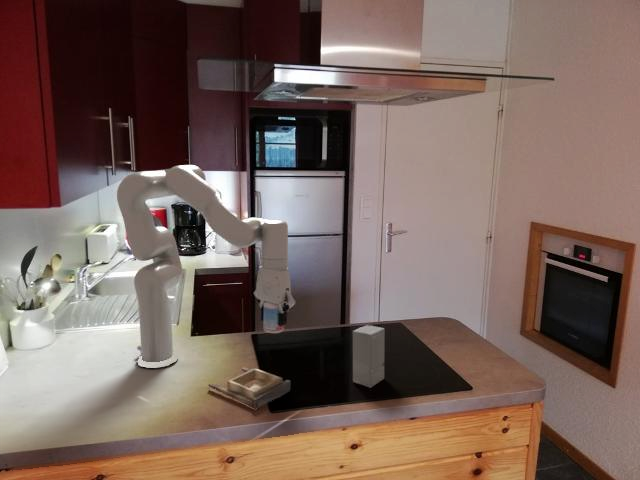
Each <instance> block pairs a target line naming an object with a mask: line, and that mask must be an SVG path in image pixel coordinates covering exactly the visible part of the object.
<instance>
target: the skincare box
mask: <svg viewBox="0 0 640 480" xmlns="http://www.w3.org/2000/svg"><path fill="white" fill-rule="evenodd" d="M385 332H386V331H385V327H378V326H374V325H370V324H366V325H364V326H360V327H358V328H356V329H354V330H352V382H353V383H355V384H358V385H361V386H364V387H367V388H369V389H371V388H372V387H374V386H376V385H377V384H379V383H380V382H382V381H383V380H384V379H385V335H386V334H385Z"/></svg>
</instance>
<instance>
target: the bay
mask: <svg viewBox="0 0 640 480" xmlns="http://www.w3.org/2000/svg"><path fill="white" fill-rule="evenodd" d="M250 370H252V368H251V369H250V368H248V367H245V366H244V367H242V368H241V372H242V371H243V372H247V371H250ZM207 385H208V386H209V387H211V388H213V389H216V390H217V391H219V392H222V393H223V394H225V395H227V396H230V397H232V398H234V399H236V400H238V401H240V402H242V403H244V404H246V405H248V406H250V407H252V408H254V409H256V408H258V407H261V406H263V405H264V404H266V403H268V402H270V401H271V402H273V401H275V400H277V399H279V398H280V397H282V396H284V395H285V394H288V393H289V392H291V380H289V379H286V380H282V383H280V384H278V385H276V386H274V387H272V388H271V389H269V390H267V391H265V392H263V393H261V394H259V395H258V396H256V397H254V398H252V399H250V398H248V397H245V396H243V395H241V394H238V393H236V392H233V391H231V390H229V389H228V388H227V387H223V386H221V385H219V384H217V383H214V382H210V383H208V384H207ZM276 398H277V399H276ZM274 399H275V400H274ZM272 400H273V401H272ZM271 402H270V403H271ZM268 404H269V403H268ZM266 405H267V404H266ZM264 406H265V405H264ZM264 406H263V407H264ZM261 408H262V407H261Z"/></svg>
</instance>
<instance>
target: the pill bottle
mask: <svg viewBox="0 0 640 480" xmlns="http://www.w3.org/2000/svg"><path fill="white" fill-rule="evenodd" d="M282 305H283V304H282ZM283 307H284V305H283ZM278 313H280V310H279V307H278V304H273V303H270V302H266V301H265V302H264V320H263V321H262V323H263V327H262V328H263V331H264V332H266V333H267V334H279V333H282V332H283V331H284V330H285V325H282V326H278Z"/></svg>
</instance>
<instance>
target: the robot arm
mask: <svg viewBox="0 0 640 480" xmlns="http://www.w3.org/2000/svg"><path fill="white" fill-rule="evenodd" d="M206 178H207V177H206V175H205V172H204V171H203V169H201V168H200V167H199V166H197V165H194V164H183V165H180V164H179V165H175V166H172V167H171V168H165V169H157V170H142V171H136V172H133V173H130V174H128V175H127V176H125V177H124V178H123V179H122V180H121V182H120V183H119V185H118V186H117V187H118V188H117V190H116V201H117V204H118V205H117V206H118V208H119V211H120V213H121V217H122V220H123V225H124V227H125V232H126V236H127V241H128V244H129V248H130V251H131V254H132V256H133V257H134V258H135V259H136V260H138V261H141V262H145V261H150V260H152V262H151V263H149V264H147V265H144V266H142V267H141V268H140V269H139V270H138V271H137V272H136V274H135V276H134V279H133V280H134V281H133V284H134V285H133V286H134V290H135V293H136V297H137V304H138V305H137V306H138V316H139V331H140V334H139V335H140V345H138V346H137V347H136V349H137V350H138V351H140V356H142V360H143V361H146V362H160V361H164V360H167V359H169V358H171V357H172V355H173V352H174V351H173V349H174V347H173V325H172V324H173V323H172V307H171V302H170V298H169V296H168V294H167V291H168V290H170V289H172V288H173V287H175V286H177V285H178V284H179V283H180V282H181V280H182V279H183V266H182V262H181V258H180V253H179V250H178V245H177V241H176V238H175V236H174V235H173V233H172V232H171V231H170V230H169V228H166V227H165V226H161V225H156V224H155V220H154V216H153V213H152V211H151V209H150V208H149V206H148V205H147V203H146V201H148V200H155V199H158V198H159V199H160V198H164V197H165V198H166V197H172V196H176V197H178V198H179V199H181V201H183V202H184V203H186V204H187V205H188V206H190V207H191V208H192V209H194V210H195V211H197V212H198V213H199V214H201V215H202V217H203V219H204V220H205V222H206V223H207V225H208V226H209V227H210V229H211V230H213V232H214V233H215V234H217V235H218V236H219V237H221V238H222V239H223V240H225V241H226V242H227V243H228V244H230V245H232V246H233V247H235V248H240V249H241V248H242V249H244V248H248V247H250V246H253V245H254V244H258V243H261V245H260V246H261V255H260V257H259V261H260V263H261V265H260V266H259V267H258V271H257V277H256V289H255V291H253V295H254V297H255V298H256V301H257V303H258V304H259V305H258V307H259V308H260V321H262V322H263V320H264V302H265V301H266V302H270V303H273V304H278V307H279V310H280V313H278V326H282V325H284V326H285V325H286V324H287V323H288V312H289V311H290V310H291V308H292V307H293V306H294V305H296V300H295V299H294V297H293V295H292V289H291V287H292V286H291V276H290V275H291V273H290V270H289V268H288V251H289V250H288V249H289V248H288V245H289V243H288V242H289V240H288V239H289V237H288V236H289V228H288V227H289V226H288V223H287V222H286V221H284V220H280V219H271V220H270V219H269V220H268V219H264V218H259V217H248V218H244V219H240V218H239V217H237V216H236V215H235V214H233V213H232V212H231V211H230V210H229V209H227V208H226V207H225V205H224V204H223V201H222V192H221V191H220V190H218V189H217V188H215V187H214V186H213V185H212V184H210V183H208V182H207V181H206V180H207V179H206ZM282 304H283V305H284V307H283V305H282Z"/></svg>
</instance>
